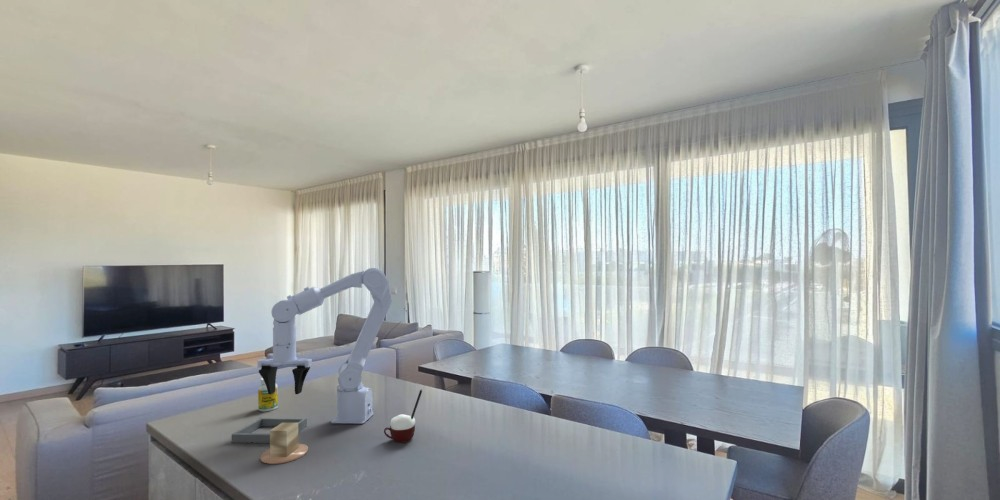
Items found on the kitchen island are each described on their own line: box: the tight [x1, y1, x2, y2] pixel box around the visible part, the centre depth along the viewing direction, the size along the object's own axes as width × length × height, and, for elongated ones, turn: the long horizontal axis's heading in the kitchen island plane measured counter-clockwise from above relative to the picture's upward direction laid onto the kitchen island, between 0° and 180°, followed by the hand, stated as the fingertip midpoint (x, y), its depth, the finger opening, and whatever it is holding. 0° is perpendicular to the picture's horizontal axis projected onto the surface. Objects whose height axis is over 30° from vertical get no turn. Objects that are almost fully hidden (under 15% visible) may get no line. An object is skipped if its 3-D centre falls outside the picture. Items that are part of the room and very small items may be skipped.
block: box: [269, 423, 299, 457], centre depth 102 cm, size 4×5×6 cm
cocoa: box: [383, 389, 423, 444], centre depth 109 cm, size 10×6×12 cm, turn 79°
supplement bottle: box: [257, 377, 279, 413], centre depth 135 cm, size 5×5×10 cm
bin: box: [231, 417, 308, 444], centre depth 115 cm, size 14×12×2 cm
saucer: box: [260, 442, 309, 465], centre depth 102 cm, size 10×10×1 cm
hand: (285, 393), depth 119 cm, fingers open, 7 cm apart
